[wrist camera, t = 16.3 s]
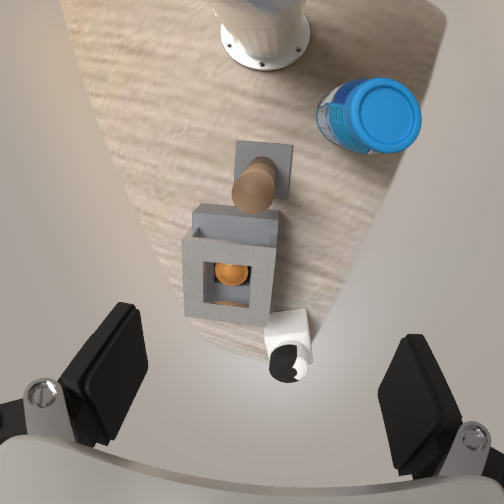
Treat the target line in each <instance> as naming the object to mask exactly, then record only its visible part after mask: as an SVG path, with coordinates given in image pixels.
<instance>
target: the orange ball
mask: <svg viewBox="0 0 504 504" xmlns="http://www.w3.org/2000/svg"><path fill="white" fill-rule="evenodd" d="M215 274H216V276H217V278H218V279H219V281H221V282H222V283H223V284H225V285H228V286H237V285H240V284H242V283H243V282H244V281H245V280H246V278H247V276H248V267H247V266H243V265H234V264H224V263H217V264H216V266H215Z"/></svg>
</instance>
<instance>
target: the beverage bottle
mask: <svg viewBox="0 0 504 504" xmlns="http://www.w3.org/2000/svg"><path fill="white" fill-rule="evenodd" d="M316 121H317V125H318V127H319V130H320V131H321V133H322V134H323V135H324V136H325V137H326V138H327V139H328V140H330V141H331V142H333V143H335V144H338V145H340V146H342V147H343V148H345V149H347V150H350V151H353V152H357V153H361V154H377V153H386V154H387V153H389V154H390V153H396V152H400V151H402V150H404V149H406V148H408V147H409V146H410V145H411V144H412V143H413V142H414V141H415V139H416V138H417V136H418V134H419V132H420V128H421V122H422V117H421V110H420V106H419V104H418V102H417V100H416V98H415V96H414V95H413V93H412V92H411V91H410V90H409V89H408V88H407V87H406V86H404V85H403V84H401V83H400V82H398V81H395V80H392V79H388V78H381V77H380V78H373V79H354V80H351V81H349V82H346V83H343V84H341V85H339V86H338V87H336V88H335V89H334V90H333V91H332V92H331V93H329V94H328V95H326V96H325V97H324V98H323V99H322V100H321V101H320V103H319V105H318V107H317V111H316Z"/></svg>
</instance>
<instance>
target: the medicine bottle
mask: <svg viewBox="0 0 504 504" xmlns="http://www.w3.org/2000/svg"><path fill="white" fill-rule="evenodd" d="M264 341H265V345H266V349H267V353H268V357H269V361H270V365H269V371H270V374H271V375H272V377H274V378H275V379H276V380H278V381H281V382H285V383H292V382H297V381H299V380H301V379H302V378H304V377H305V376H306V375H307V373H308V371H309V364H311V363H312V362H313V359H312V348H311V337H310V330H309V323H308V316H307V310H306V308H301V309H294V310H287V311H280V312H273V313H269V320H268V327H267V326H265V331H264Z"/></svg>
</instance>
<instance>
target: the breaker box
mask: <svg viewBox="0 0 504 504" xmlns="http://www.w3.org/2000/svg"><path fill="white" fill-rule="evenodd" d="M278 223H279V210H270V209H267V210H266V211H264V212H262V213H260V214H255V215H251V214H246V213H244V212H242V211H241V210H239V209H238V208H237V207H236V206H225V205H213V204H200V205H199V206H198V207H197V208H196V209H195V210H194V212H193V213H192V226H195V227H199V234H198V236H197V238H208V239H218V240H229V241H239V242H249V243H260V244H269V239H270V234H277V233H278ZM216 264H217V263H215V262H206V261H205V299H209V300H217V301H225V302H234V303H243V304H250V291H251V278H252V266H251V271H248V276H247V278H246V280H245V281H244V282H243V283H242V284H240V285H237V286H228V285H225V284H223V283H222V282H221V281H219V279H218V278H217V276H216V274H215V266H216Z"/></svg>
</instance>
